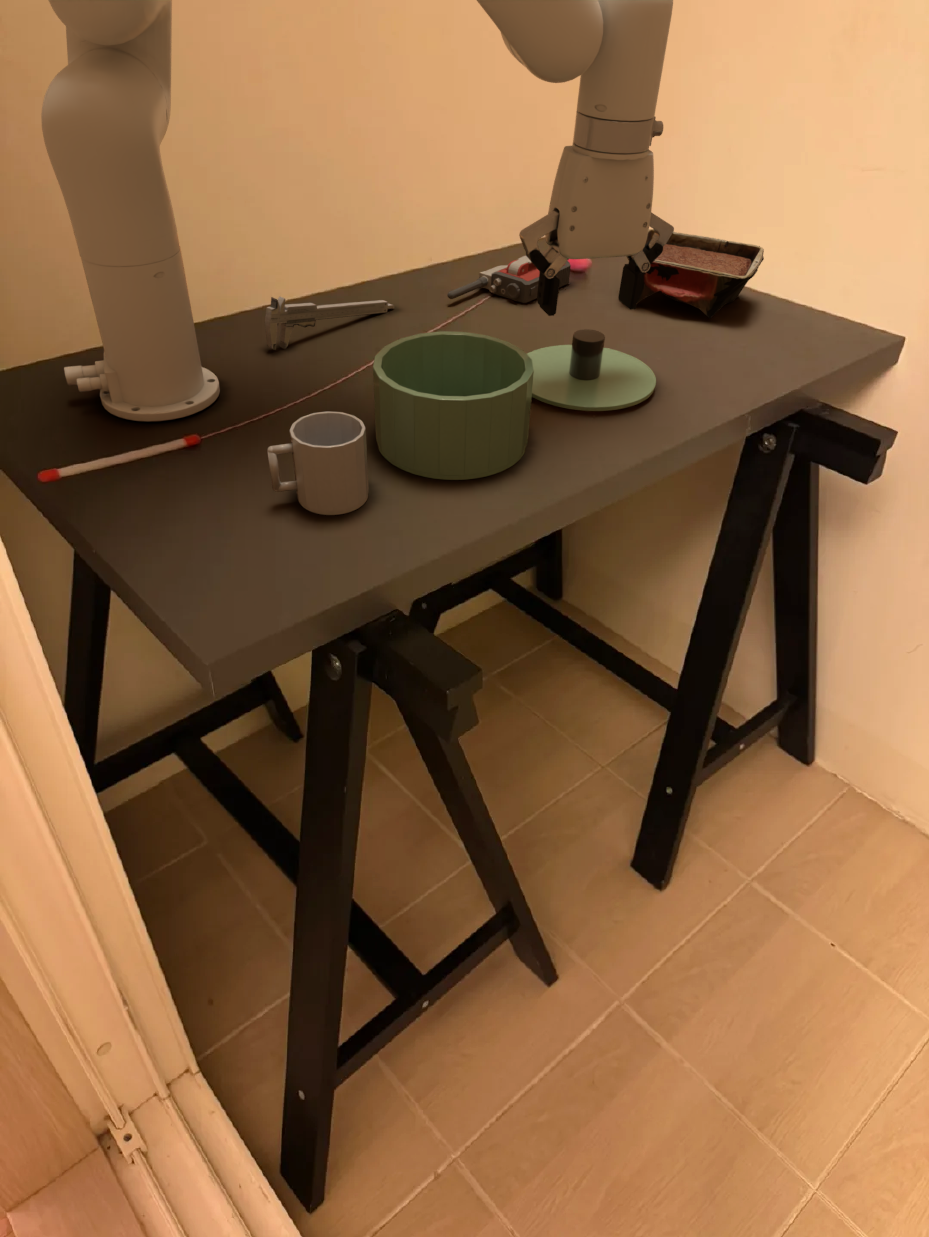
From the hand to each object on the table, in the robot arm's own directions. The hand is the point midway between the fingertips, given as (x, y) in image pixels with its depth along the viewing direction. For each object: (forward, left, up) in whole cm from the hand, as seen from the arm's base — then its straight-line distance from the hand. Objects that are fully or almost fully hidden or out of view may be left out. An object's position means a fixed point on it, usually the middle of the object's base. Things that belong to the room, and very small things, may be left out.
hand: (587, 308), depth 96 cm
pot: (-18, -9, -9) cm, 22 cm away
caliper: (-24, +23, -9) cm, 34 cm away
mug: (-34, -16, -9) cm, 38 cm away
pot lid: (+1, 0, -8) cm, 8 cm away
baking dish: (+26, +20, -9) cm, 34 cm away
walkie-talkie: (+3, +29, -9) cm, 30 cm away
